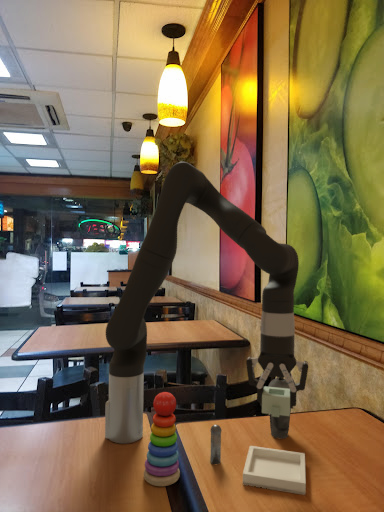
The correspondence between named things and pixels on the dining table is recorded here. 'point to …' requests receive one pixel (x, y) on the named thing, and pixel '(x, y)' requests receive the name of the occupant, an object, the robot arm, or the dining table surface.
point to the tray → (275, 470)
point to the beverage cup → (282, 422)
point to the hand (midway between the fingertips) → (276, 405)
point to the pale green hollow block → (276, 401)
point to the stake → (215, 444)
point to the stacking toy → (162, 443)
